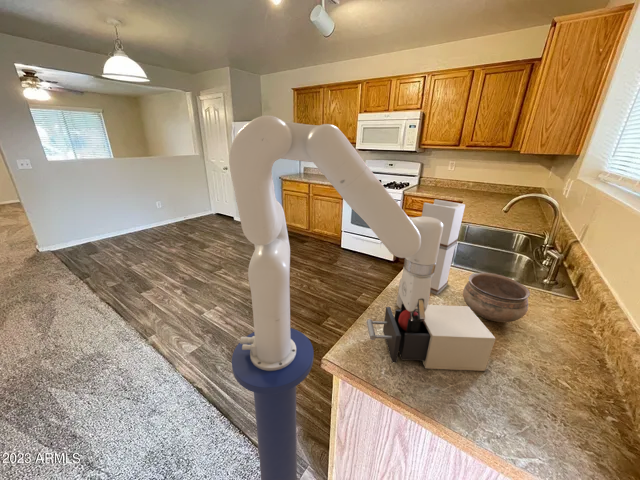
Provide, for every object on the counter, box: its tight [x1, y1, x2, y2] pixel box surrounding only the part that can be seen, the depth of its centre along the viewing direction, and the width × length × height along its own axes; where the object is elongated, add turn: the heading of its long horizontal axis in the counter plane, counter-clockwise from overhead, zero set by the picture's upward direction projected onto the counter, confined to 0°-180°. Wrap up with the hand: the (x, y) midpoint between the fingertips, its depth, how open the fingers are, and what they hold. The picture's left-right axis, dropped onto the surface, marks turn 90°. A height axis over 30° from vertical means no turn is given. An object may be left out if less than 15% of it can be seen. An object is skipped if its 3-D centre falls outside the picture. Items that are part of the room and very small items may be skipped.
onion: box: [398, 310, 418, 333], centre depth 73 cm, size 6×6×8 cm
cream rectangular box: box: [415, 304, 496, 372], centre depth 75 cm, size 16×14×11 cm
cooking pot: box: [462, 272, 531, 323], centre depth 91 cm, size 25×19×12 cm
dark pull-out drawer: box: [366, 306, 431, 364], centre depth 75 cm, size 21×13×9 cm, turn 88°
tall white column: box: [421, 198, 466, 295], centre depth 106 cm, size 11×11×35 cm
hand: (409, 323), depth 74 cm, fingers closed on onion, 5 cm apart
